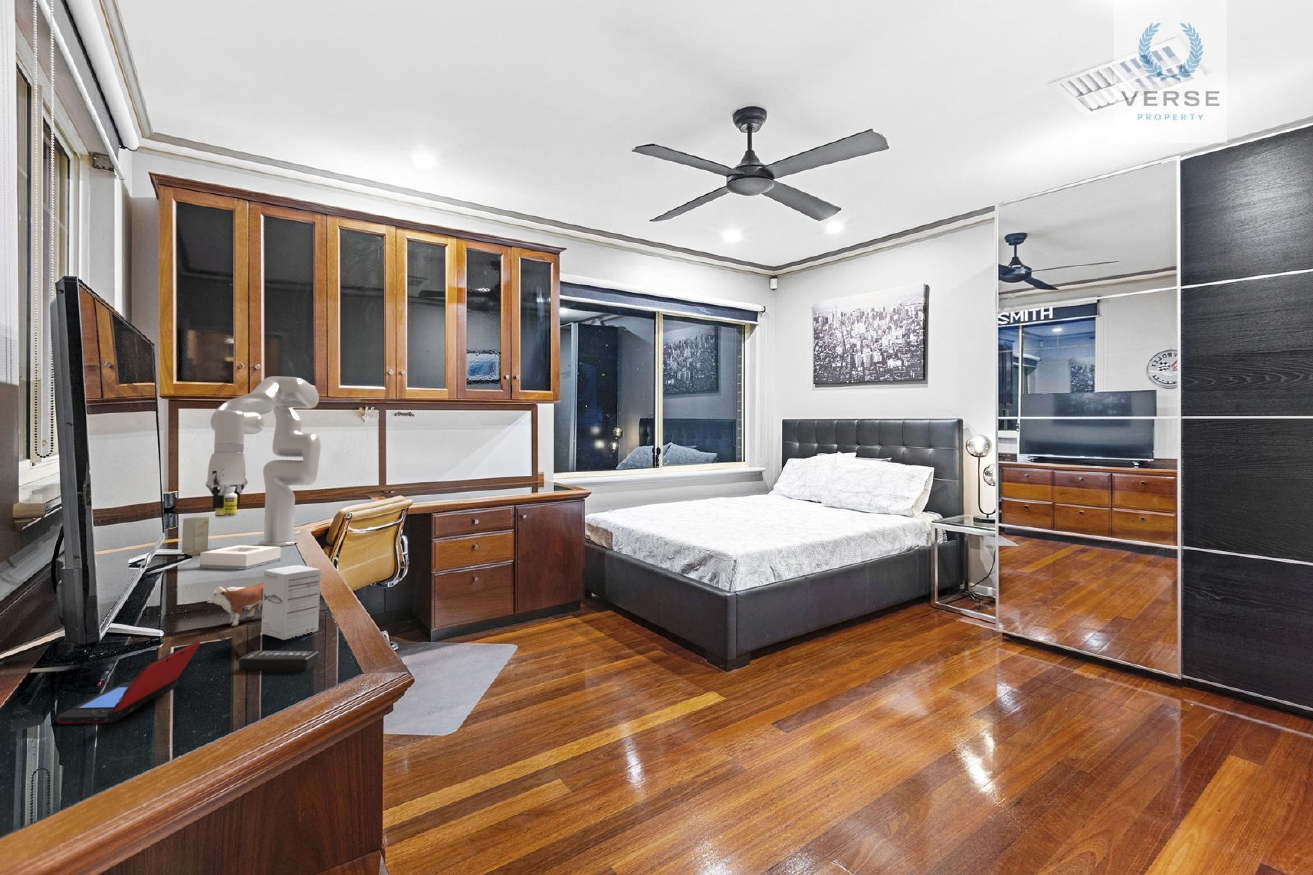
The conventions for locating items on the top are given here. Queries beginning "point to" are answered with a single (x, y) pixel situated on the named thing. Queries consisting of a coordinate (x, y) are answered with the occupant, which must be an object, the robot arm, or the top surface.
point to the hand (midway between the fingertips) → (226, 506)
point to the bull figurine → (238, 600)
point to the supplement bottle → (228, 504)
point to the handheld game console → (132, 690)
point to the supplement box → (290, 601)
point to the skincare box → (195, 535)
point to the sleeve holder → (239, 557)
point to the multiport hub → (278, 661)
